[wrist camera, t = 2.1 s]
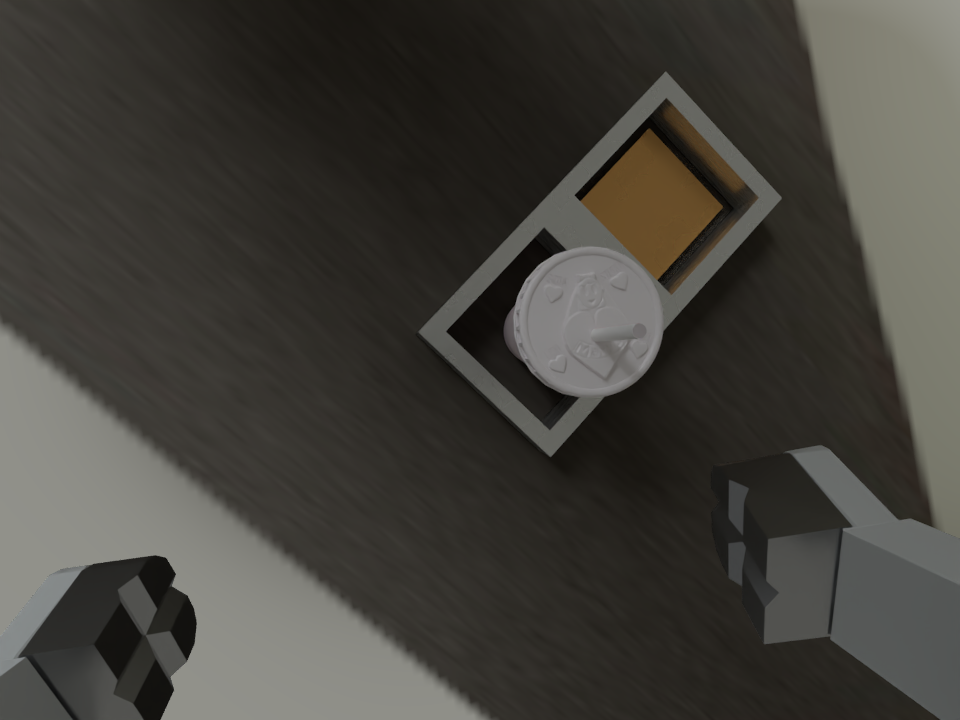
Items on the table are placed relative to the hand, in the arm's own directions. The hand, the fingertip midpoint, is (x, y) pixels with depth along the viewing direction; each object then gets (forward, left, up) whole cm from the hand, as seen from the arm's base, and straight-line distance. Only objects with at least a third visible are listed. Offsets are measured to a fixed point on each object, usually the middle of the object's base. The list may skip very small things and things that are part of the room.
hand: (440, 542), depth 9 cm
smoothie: (+3, +8, -25) cm, 27 cm away
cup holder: (+3, +13, -25) cm, 28 cm away
